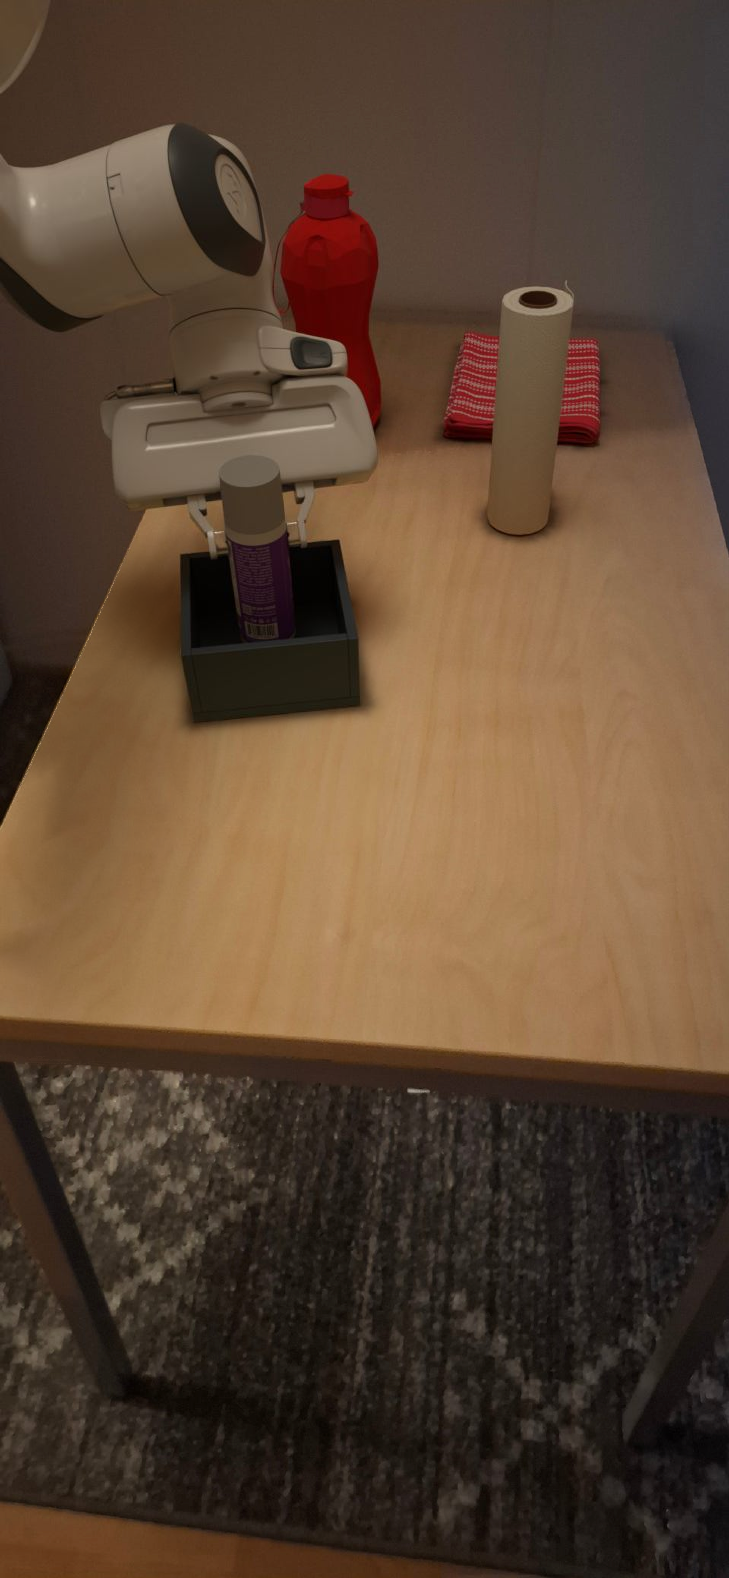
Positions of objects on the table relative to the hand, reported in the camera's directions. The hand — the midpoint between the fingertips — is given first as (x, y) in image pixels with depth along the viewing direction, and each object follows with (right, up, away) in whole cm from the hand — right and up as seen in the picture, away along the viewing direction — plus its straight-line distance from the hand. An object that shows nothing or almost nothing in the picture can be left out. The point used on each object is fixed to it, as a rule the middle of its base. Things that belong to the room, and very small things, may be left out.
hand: (259, 552), depth 80 cm
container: (0, -5, +7) cm, 9 cm away
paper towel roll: (+24, +8, +23) cm, 34 cm away
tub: (0, -7, +9) cm, 11 cm away
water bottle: (+4, +22, +37) cm, 43 cm away
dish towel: (+27, +27, +40) cm, 56 cm away
